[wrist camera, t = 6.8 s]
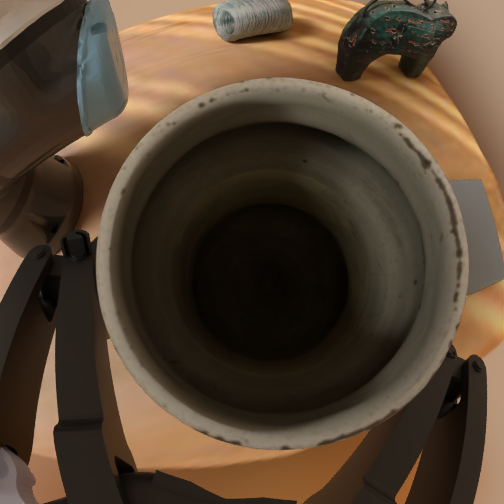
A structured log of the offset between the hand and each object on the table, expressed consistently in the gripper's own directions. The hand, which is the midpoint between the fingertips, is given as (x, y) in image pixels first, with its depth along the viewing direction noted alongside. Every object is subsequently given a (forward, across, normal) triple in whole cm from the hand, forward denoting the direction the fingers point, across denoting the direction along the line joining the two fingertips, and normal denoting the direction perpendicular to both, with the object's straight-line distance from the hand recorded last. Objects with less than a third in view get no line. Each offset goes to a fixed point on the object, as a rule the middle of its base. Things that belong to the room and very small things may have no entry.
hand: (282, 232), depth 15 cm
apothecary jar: (+4, 0, -8) cm, 9 cm away
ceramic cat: (+36, +11, +15) cm, 40 cm away
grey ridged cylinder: (+38, -12, +17) cm, 43 cm away
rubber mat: (+18, +26, -2) cm, 32 cm away
